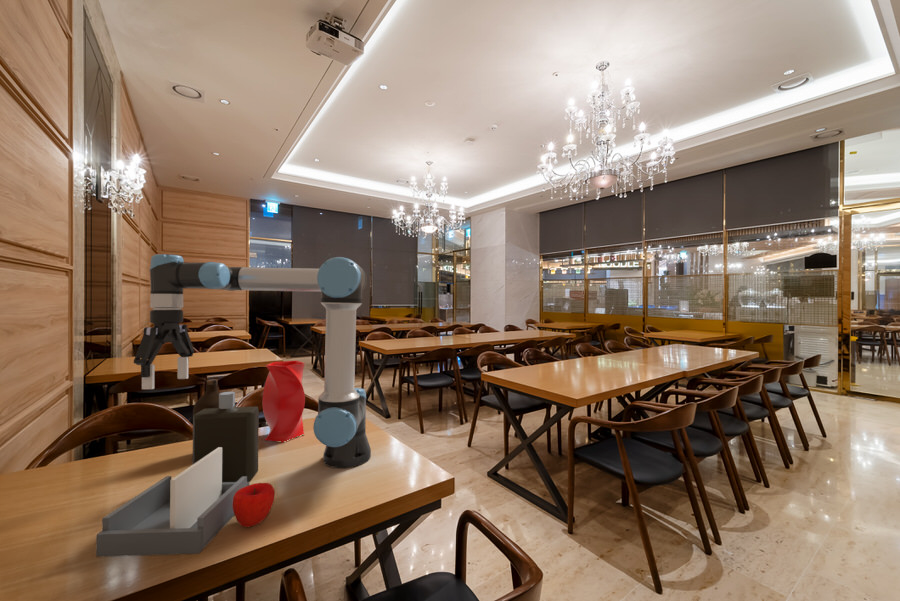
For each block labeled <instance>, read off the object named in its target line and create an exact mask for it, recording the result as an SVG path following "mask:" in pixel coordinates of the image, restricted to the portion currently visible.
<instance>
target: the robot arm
mask: <svg viewBox="0 0 900 601" xmlns="http://www.w3.org/2000/svg"><path fill="white" fill-rule="evenodd" d="M149 276H150V293H149V294H150V296H149V297H150V298H149V299H150V304H149V306H150V308H151V309H152V310H150V311H149V322H150V324H153V327H152V326H151V327H148V326H147V327H146V326H145V327H143V336H142V338H141V341H140V343H139V346H138V349H137V351H136V353H135V356H134V358H133V363H134V365H135V364H136V366H140V377H141V390H155V371H156V370H155V368H156V367H155V364H154V363H153V362H154V361H155V358H156V357H157V356H158V353H159V352H160V350H161V348H162V346H163V345H164V344H165V345H166V343H169V342H170V343H171V344H172V346H173V348H174V349H175V351H176V353H177V354H178V355H179V356H178V357H177V379H178V380H185V379H186V380H187V379H189V365H190V364H189V362H190V359H189V358H190V357H193V355H194V353H195V350H194V349H195V348H194V346H193V342H192V341H191V340H192V339H191V337H190V335H189V332H188V325H187V324H180V323H183V322H184V310H182V309H183V308H184V289H201V290H202V289H206V290H218V291H219V290H222V291H229V292H232V291H233V292H234V291H266V292H267V291H269V292H270V291H273V292H277V291H278V292H320V304H321V305H322V307H324V308H325V341H324V342H325V344H324V346H325V347H324V349H325V350H324V379H323V380H324V381H323V382H324V383H323V384H324V387H323V388H324V390H323V392H322V393H320V395H319V396H318V404H317V406H318V408H317V415H316V416H315V419H314V422H313V434H314V436H315V437H316V439H317V441H319V442H320V443H321V444H322V445H324V446H325V448H324V451H323V454H322V455H323V463H324V464H325V465H326V466H329V467H332V468H336V469H337V468H339V469H344V468H353V467H356V466H359V465H362V464H364V463H366V462H368V461H369V460H370V459H371V456H372V454H371V453H372V448H371V446H370V442H369V440H368V437H367V433H366V418H367V417H366V411H367V410H366V409H367V405H366V404H367V402H366V401H367V394H366V390H365V389H364V388H361V387H355V386H356V385H355V382H356V381H355V379H356V378H355V376H356V373H355V372H356V342H357V341H356V338H357V335H356V334H357V309H358V308H360V307H361V305H363V300H362V299H363V292H364V289H365V288H366V286H367V281H368V280H367V275H366V272H365V269H364V268H362V267H361V265H359V264H358V263H356V262H355V261H354V260H352V259H350V258H348V257H343V256H336V257H331V258H329V259H327V260H326V261H324V262H323V263H322V264H321V266H320V267H319V268H313V267H312V268H305V267H303V268H302V267H301V268H299V267H254V266H253V267H249V266H248V267H246V266H243V267H242V266H227V265H226V264H225V263H222V262H214V261H207V262H203V261H202V262H200V261H199V262H187V261H186V262H185V261H184V258H183V256H181V255H178V254H165V253H164V254H161V253H159V254H158V253H156V254H154V255H152V256H151V257H150V267H149Z"/></svg>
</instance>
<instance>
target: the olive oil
mask: <svg viewBox="0 0 900 601" xmlns="http://www.w3.org/2000/svg"><path fill="white" fill-rule="evenodd" d="M218 380H219V379H214V378H212V379H207V380H206V384H205V385H206V386H205V392H204V393H203V394H202V396H200V397H199V399H197V401H196V402H195V403H194V405H193V408H192V417H193V416H194V414H196V413H198V412H199V411H201V410H203V409H209V408H219V394H220V393H221V392H220V391H219V383H218Z"/></svg>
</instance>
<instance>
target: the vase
mask: <svg viewBox="0 0 900 601" xmlns="http://www.w3.org/2000/svg"><path fill="white" fill-rule="evenodd" d="M265 366H266V368H267V369H268V371H269V372H268V374H267V376H266V380H265V383H264V387H263V392H262V399H261V400H262V412H263V416H264V420H265V422H266V423H267V425H268V427H269V433H268V435H267V436H266V437H265V438H264V441H267V442H268V441H269V442H275V441H281V442H280V443H285V442H284V441H286V442H288V441H287V440H289V439H292V438H295V437H297V436H300V435H302V434H304V435H305V430H304V423H303V422H304V420H303V413H304V409H305V404H306V395H305V390H304V389H305V388H304V387H303V374H304V370H305V362H302V361H299V360H286V361H285V360H282V361H273V362H270V363H268V364H266V365H265ZM302 420H303V421H302ZM292 440H293V439H292ZM289 441H290V440H289Z"/></svg>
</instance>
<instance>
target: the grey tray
mask: <svg viewBox="0 0 900 601" xmlns="http://www.w3.org/2000/svg"><path fill="white" fill-rule="evenodd" d="M171 479H172V475H167V476H165V477H163V478H161V479H160V480H159V481H157V482H155V483H154V484H152V485H151V486H150V487H148V488H146V489H145V490H143V491H142V492H140V493H139V494H137V495H135V496H134V497H132V498H131V499H130V500H128V501H127V502H125V503H124V504H122V505H120V506H119V507H117V508H116V509H114V510H113V511H111V512H109V513H108V514H106V515H105V516H104V517H102V525H101V526H102V527H101V529H102V530H101V531H99V532H98V533H97V534H96V543H95V544H96V551H95V555H96V556H104V557H105V556H106V557H131V556H132V557H134V556H157V555H158V556H160V555H161V556H163V555H164V556H165V555H188V554H189V555H193V554H200V553H201V552H203V550H204V549H205V548H206V547H207V546H208V544H209V543H210V542H211V541H212V540H213V539H214V538H215V537H216V536H217V534H218V533H219V532H220V531H221V530H223V528H224V527H225V526H226V525H227V524H228V523H229V522H230V521H231V520H232V518H233V517H235V515H234V511H233V497H234V495H235V493H236V492H237V491H238V490H239V489H241V488H244V487H246V486H249V485H250V482H247V476H242V477H241V478H240V479H239V480H238V481H237V482H222V496H221V497H220V498H218V499H217V500H216V501H215V502H214V503H213V504H212V505H211V506H210V507H209V508H208V509H207V510H205V511H204V512H203V513H202V514H201V515H200V516H199V517H198V518H197V522H196V523H195V524H194V525H193V526H192V527H191V528H179V529H170V480H171ZM96 556H95V557H96Z"/></svg>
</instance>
